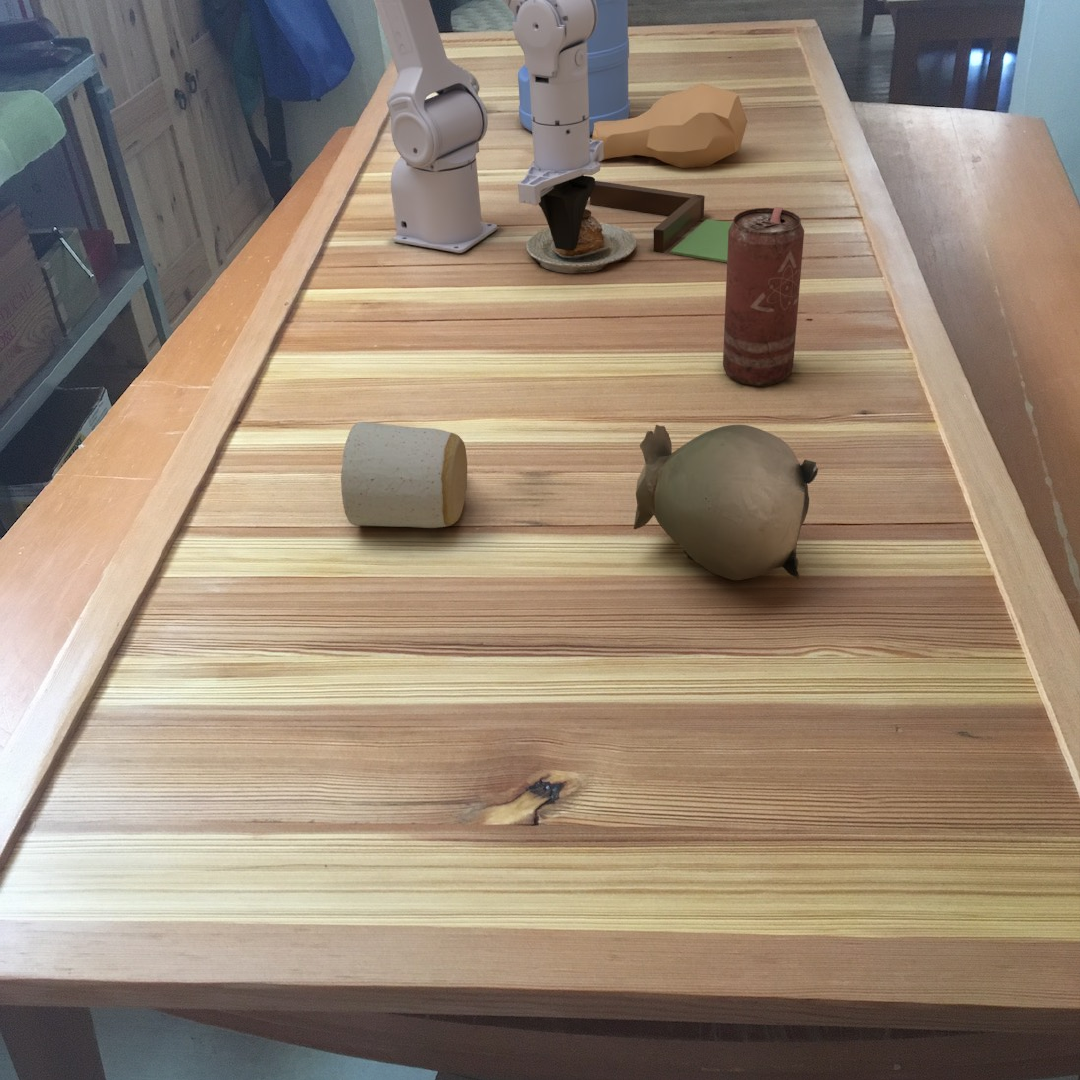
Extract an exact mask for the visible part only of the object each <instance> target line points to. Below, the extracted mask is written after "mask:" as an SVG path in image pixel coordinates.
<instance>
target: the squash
mask: <svg viewBox="0 0 1080 1080" xmlns="http://www.w3.org/2000/svg"><path fill="white" fill-rule="evenodd" d="M747 125H748V119H747V116H746V112H745V110H744V108H743V103H742V101H741V99H740V96H739V94H738V93H737V92H734V91H731V90H727V89H723V88H719V87H717V86H713V85H710V84H706V83H703V82H702V83H701V82H700V83H698V84H697V85H694V86H691V87H689V88H687V89H684V90H680V91H676V92H672V93H668V94H664V95H663V96H662V97H660V98H659V99H658V100H657V101H655V102H654V103H653V104H652V106H651V107H650V108H649V109H648V110H647V111H645V112H643V113H641V114H640V115H638V116H636V117H628V119H623V120H617V121H599V122H596V123H594V131H593V135H591V140H597V141H603V154H604V159H603V160H602V161H604V160H609V159H613V158H619V157H629V156H630V157H631V156H642V157H643V156H644V157H650V158H655V159H657V160H659V161H660V162H663V163H665V164H668V165H672V166H674V167H678V168H681V169H688V168H704V167H709V166H711V165H713V164H716V163H717V162H719V161H721V160H723V159H725V158H727V157H729V156H731V155H732V154H734V153H736V152H737V151H738V150H740V148H741V146H742V142H743V139H744V135H745V132H746V128H747Z"/></svg>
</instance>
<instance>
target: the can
mask: <svg viewBox="0 0 1080 1080" xmlns="http://www.w3.org/2000/svg"><path fill="white" fill-rule="evenodd" d="M801 222H802V220H801V218H800V216H799V215H798V214H796V213H794V212H793V211H789V210H787V209H783V207H774V208H773V207H760V208H759V207H757V208H751V209H748V210H744V211H742V212H739V213H738V214H736V215H734V217H733V220H732V222H731V223H732V224H731V226H730V228H729V230H728V254H727V263H726V281H725V282H726V283H725V301H724V302H725V303H724V325H723V326H724V329H723V348H722V349H723V350H722V352H723V353H722V366H723V370H724V372H725V373H726V374H727V376H728V377H729V378H730V379H731V380H733V381H735V382H736V383H738V384H742V385H745V386H753V387H763V386H764V387H767V386H772V385H776V384H778V383H780V382H783V381H784V380H785V379H786V378H788V376H789V375H790V374H791V372H792V371H793V369H794V361H795V349H796V338H797V337H796V336H797V325H798V311H799V299H800V290H801V289H800V288H801V278H802V277H801V275H802V265H803V264H802V263H803V252H804V251H803V250H804V242H805V241H804V240H805V229H804V227H803V225H802V223H801Z"/></svg>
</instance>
